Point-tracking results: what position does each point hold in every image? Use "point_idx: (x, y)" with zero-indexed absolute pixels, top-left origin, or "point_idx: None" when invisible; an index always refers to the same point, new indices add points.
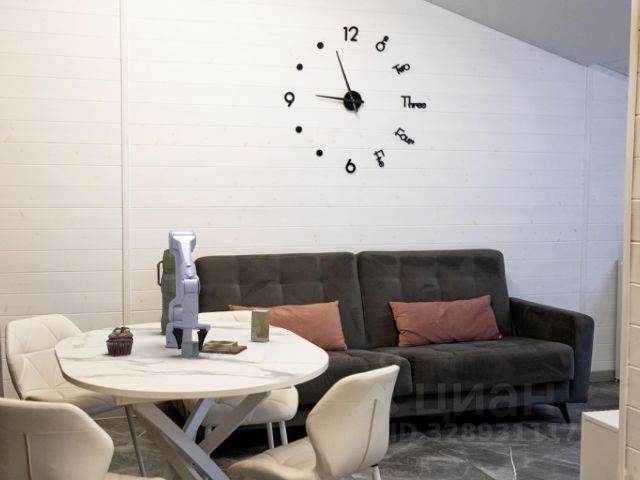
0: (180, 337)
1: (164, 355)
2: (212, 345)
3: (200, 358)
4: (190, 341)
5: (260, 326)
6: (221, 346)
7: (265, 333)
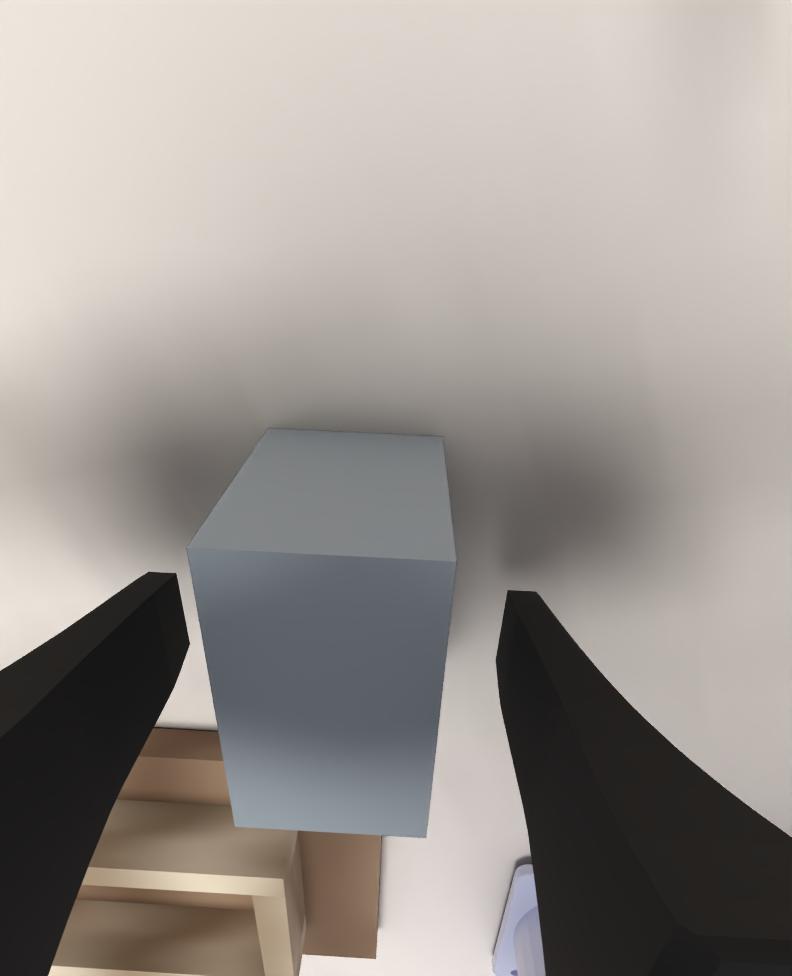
0: (556, 820)
1: (734, 533)
2: (180, 850)
3: (138, 437)
4: (367, 792)
5: None
6: None
7: None
